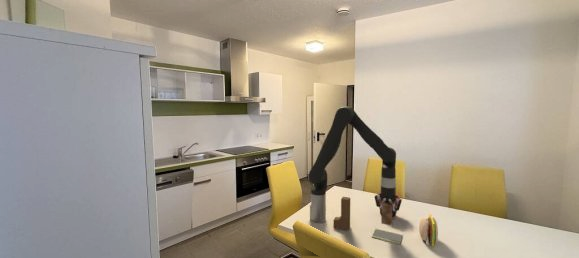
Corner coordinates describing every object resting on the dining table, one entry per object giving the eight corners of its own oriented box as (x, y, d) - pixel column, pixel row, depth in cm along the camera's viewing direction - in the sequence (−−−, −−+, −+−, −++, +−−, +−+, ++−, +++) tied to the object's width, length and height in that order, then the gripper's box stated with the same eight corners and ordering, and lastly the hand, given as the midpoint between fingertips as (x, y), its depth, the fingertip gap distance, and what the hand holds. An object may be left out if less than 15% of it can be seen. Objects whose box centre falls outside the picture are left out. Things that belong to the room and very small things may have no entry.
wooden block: (333, 227, 143) (333, 197, 141) (335, 223, 147) (335, 195, 145) (348, 230, 139) (348, 200, 137) (350, 226, 143) (350, 197, 141)
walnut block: (381, 223, 129) (381, 203, 128) (383, 218, 135) (384, 199, 134) (391, 225, 126) (391, 205, 125) (393, 220, 132) (393, 200, 131)
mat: (371, 237, 131) (371, 236, 131) (375, 229, 139) (375, 228, 139) (400, 244, 123) (400, 243, 123) (402, 235, 132) (402, 234, 132)
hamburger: (417, 233, 135) (418, 212, 134) (434, 235, 131) (435, 214, 130) (420, 244, 124) (421, 221, 122) (439, 247, 120) (439, 224, 119)
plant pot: (395, 210, 164) (396, 192, 162) (403, 220, 150) (404, 200, 148) (374, 210, 165) (374, 192, 164) (379, 219, 151) (380, 200, 150)
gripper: (372, 185, 129) (372, 215, 131) (402, 189, 122) (401, 221, 123) (375, 181, 136) (375, 210, 137) (403, 185, 128) (402, 216, 130)
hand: (387, 215), depth 130 cm, fingers closed on walnut block, 5 cm apart
